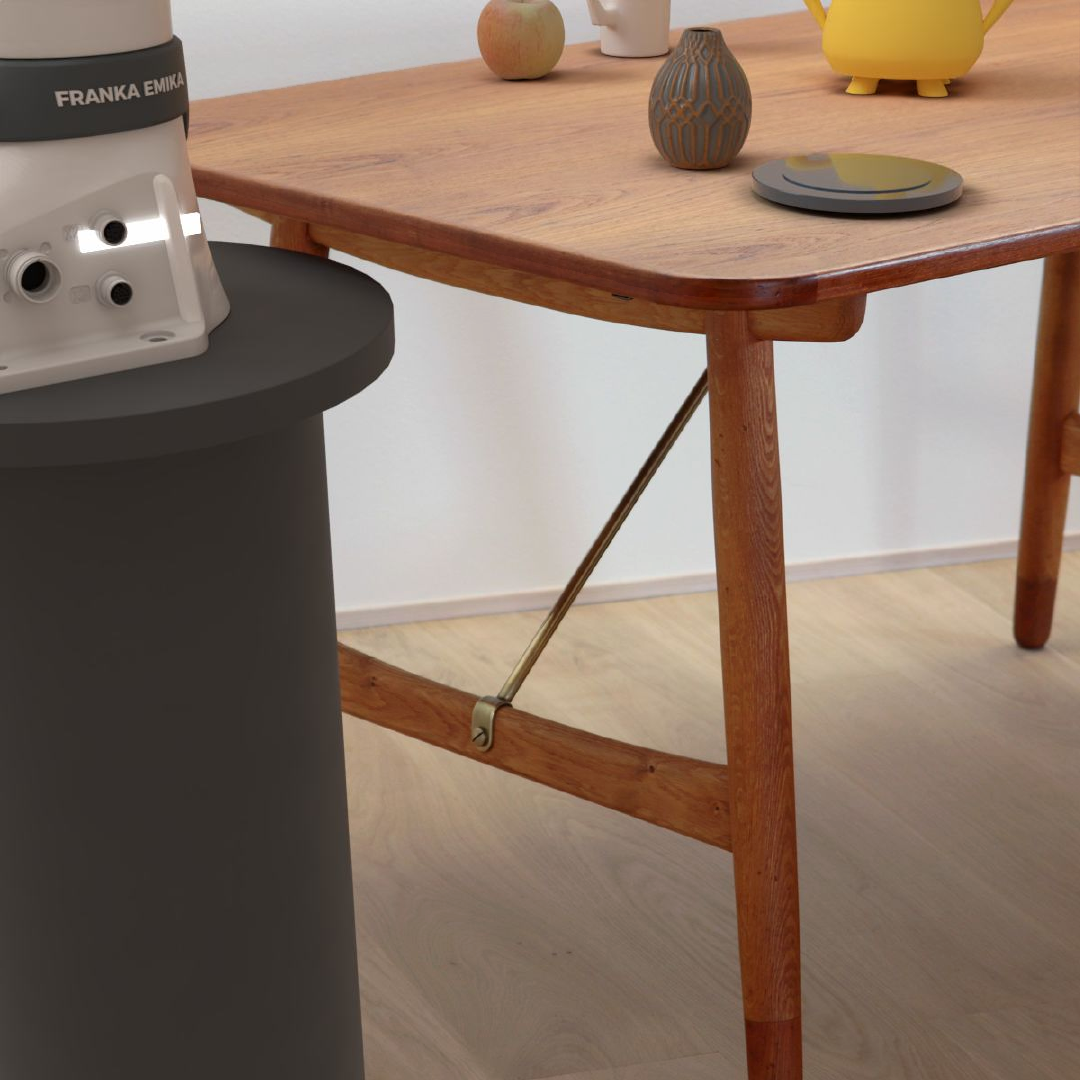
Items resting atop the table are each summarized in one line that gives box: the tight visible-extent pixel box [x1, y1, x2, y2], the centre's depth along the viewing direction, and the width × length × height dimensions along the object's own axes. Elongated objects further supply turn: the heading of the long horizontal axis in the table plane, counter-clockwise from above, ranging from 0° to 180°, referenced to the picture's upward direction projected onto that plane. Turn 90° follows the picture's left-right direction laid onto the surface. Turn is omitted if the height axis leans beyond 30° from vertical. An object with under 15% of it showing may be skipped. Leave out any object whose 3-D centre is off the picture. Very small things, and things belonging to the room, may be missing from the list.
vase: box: [647, 26, 753, 170], centre depth 115 cm, size 7×7×9 cm
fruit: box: [476, 0, 566, 80], centre depth 146 cm, size 8×7×8 cm
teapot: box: [802, 0, 1015, 98], centre depth 141 cm, size 14×14×12 cm
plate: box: [751, 152, 964, 214], centre depth 108 cm, size 13×13×1 cm
